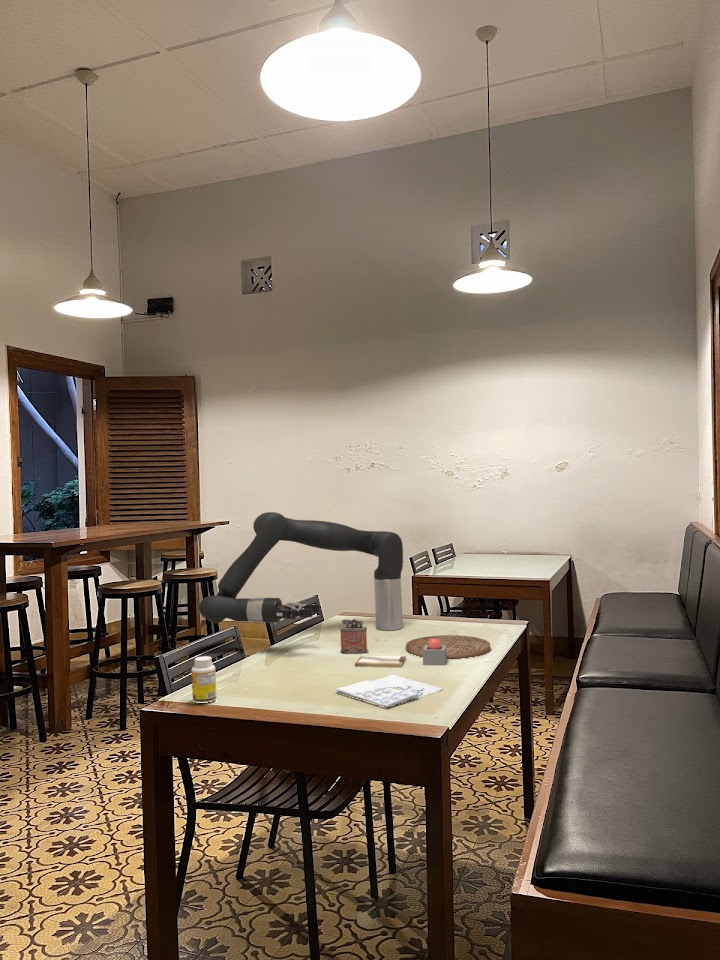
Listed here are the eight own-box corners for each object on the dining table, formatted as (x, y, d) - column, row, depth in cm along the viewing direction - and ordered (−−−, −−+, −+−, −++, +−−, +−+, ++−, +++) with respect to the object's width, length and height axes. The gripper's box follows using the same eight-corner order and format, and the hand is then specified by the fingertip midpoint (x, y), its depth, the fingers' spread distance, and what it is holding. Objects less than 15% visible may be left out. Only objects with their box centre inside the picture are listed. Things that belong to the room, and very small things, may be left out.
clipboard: (361, 658, 210) (361, 653, 210) (406, 659, 207) (405, 654, 207) (354, 666, 201) (354, 661, 201) (401, 667, 198) (401, 662, 198)
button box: (425, 659, 206) (424, 645, 206) (446, 659, 205) (446, 645, 205) (423, 664, 200) (422, 650, 200) (445, 665, 199) (444, 650, 199)
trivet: (418, 639, 234) (418, 633, 234) (497, 643, 225) (496, 636, 225) (395, 658, 210) (395, 651, 210) (481, 662, 202) (481, 656, 202)
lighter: (368, 651, 219) (366, 617, 219) (367, 653, 215) (365, 619, 215) (341, 651, 219) (340, 618, 219) (339, 654, 216) (338, 620, 216)
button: (429, 653, 205) (429, 638, 205) (441, 653, 204) (440, 638, 204) (428, 656, 201) (427, 641, 201) (440, 656, 201) (439, 641, 201)
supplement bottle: (195, 698, 176) (194, 655, 176) (218, 697, 176) (217, 654, 176) (190, 705, 171) (188, 661, 171) (213, 704, 170) (212, 660, 170)
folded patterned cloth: (333, 695, 177) (333, 686, 177) (394, 678, 190) (394, 670, 190) (386, 712, 162) (385, 702, 162) (448, 693, 175) (448, 684, 175)
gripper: (256, 601, 216) (309, 602, 212) (271, 594, 230) (321, 594, 226) (257, 627, 215) (310, 627, 212) (271, 618, 229) (322, 618, 226)
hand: (315, 610), depth 219 cm, fingers open, 8 cm apart
